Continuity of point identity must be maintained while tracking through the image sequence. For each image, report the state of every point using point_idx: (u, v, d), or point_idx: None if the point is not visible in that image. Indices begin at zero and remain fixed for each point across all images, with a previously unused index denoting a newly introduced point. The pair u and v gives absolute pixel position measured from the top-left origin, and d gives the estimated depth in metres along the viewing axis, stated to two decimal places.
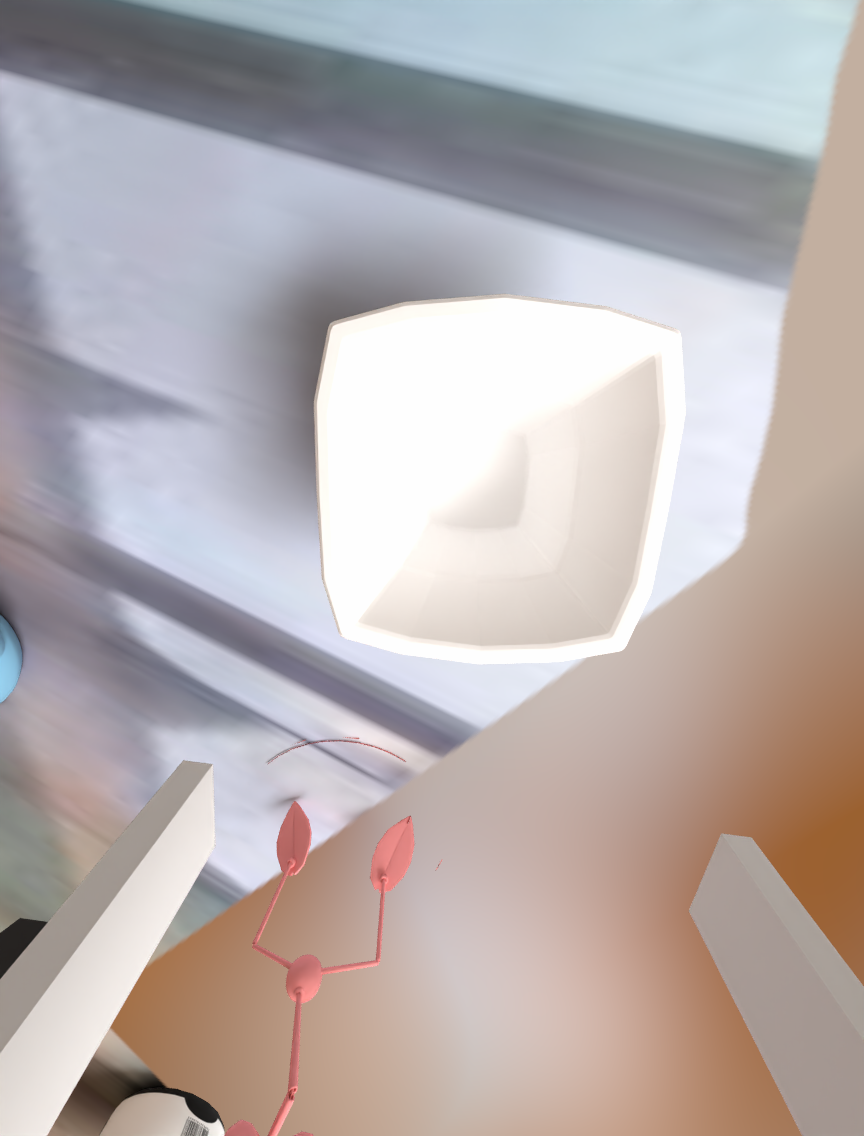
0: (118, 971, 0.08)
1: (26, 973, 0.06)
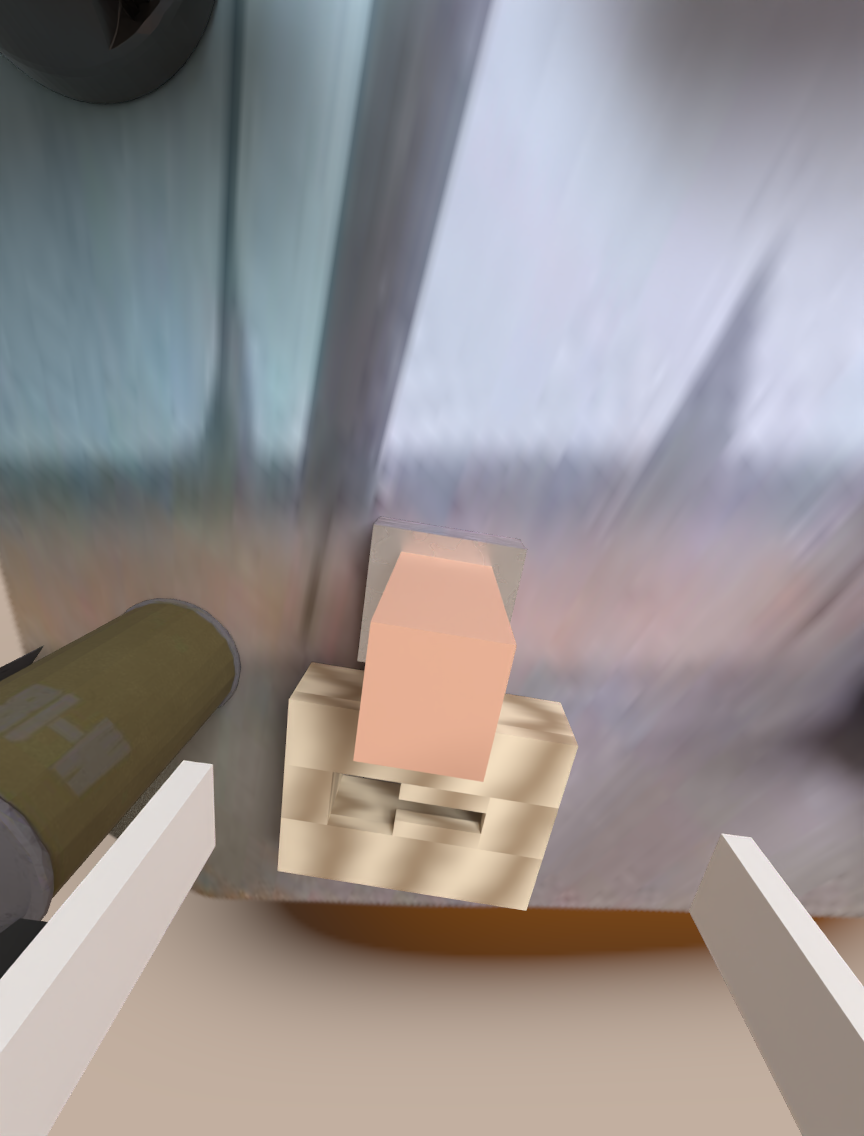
0: (118, 972, 0.08)
1: (26, 973, 0.06)
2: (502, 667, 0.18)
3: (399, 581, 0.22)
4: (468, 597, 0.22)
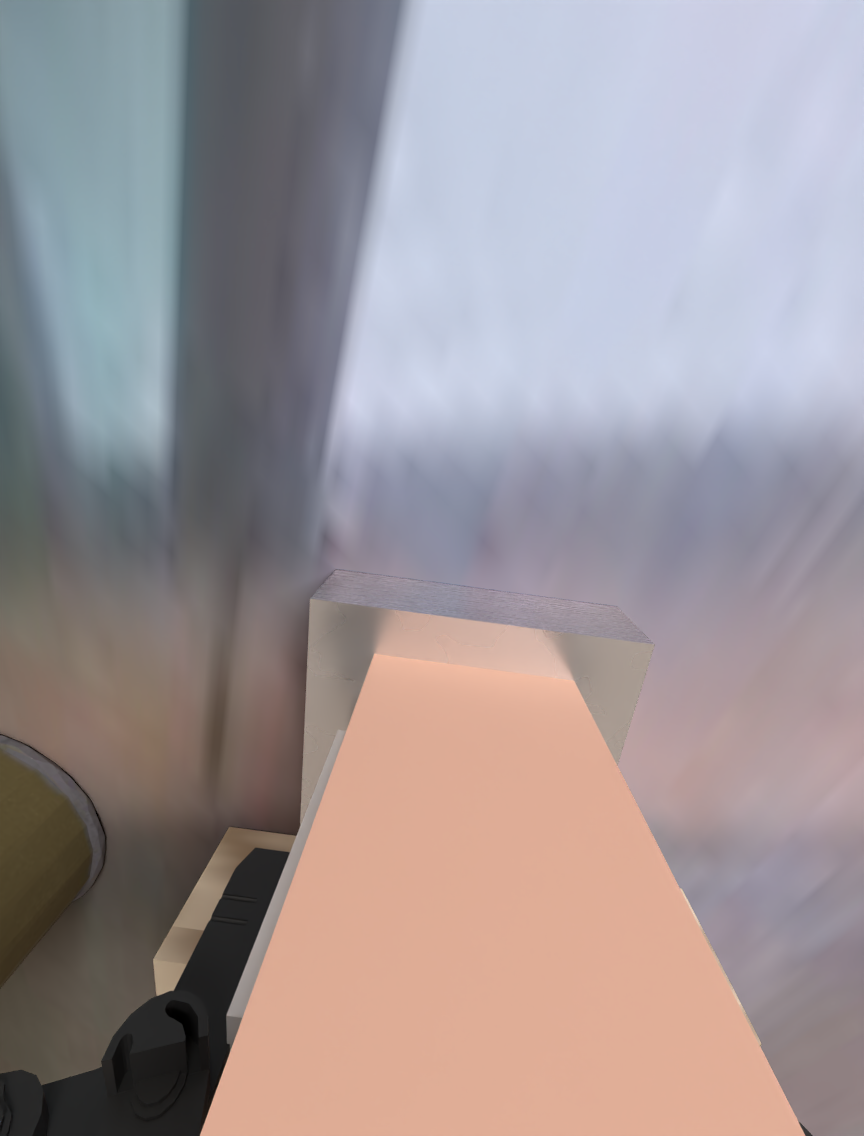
0: None
1: None
2: None
3: (348, 815, 0.07)
4: (572, 891, 0.07)
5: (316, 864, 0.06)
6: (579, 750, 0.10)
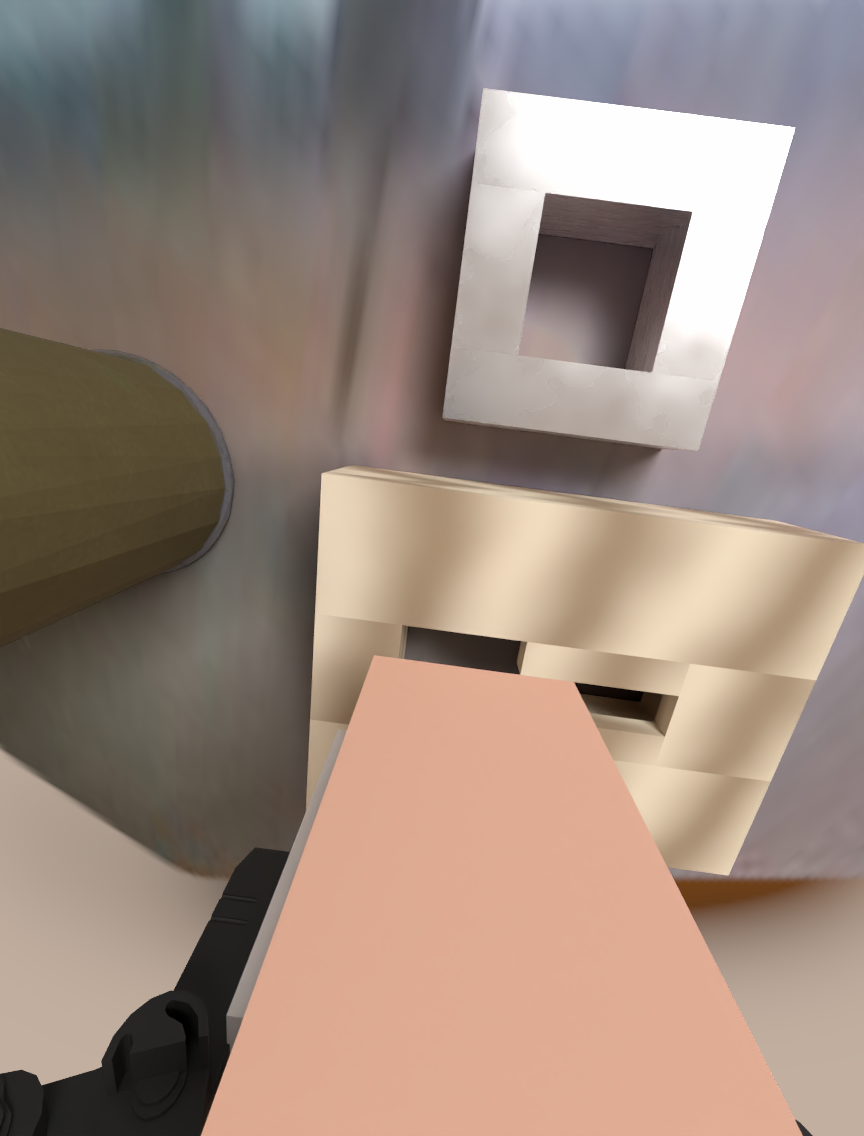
0: None
1: None
2: None
3: (347, 819, 0.07)
4: (573, 894, 0.07)
5: (316, 867, 0.06)
6: (579, 752, 0.10)
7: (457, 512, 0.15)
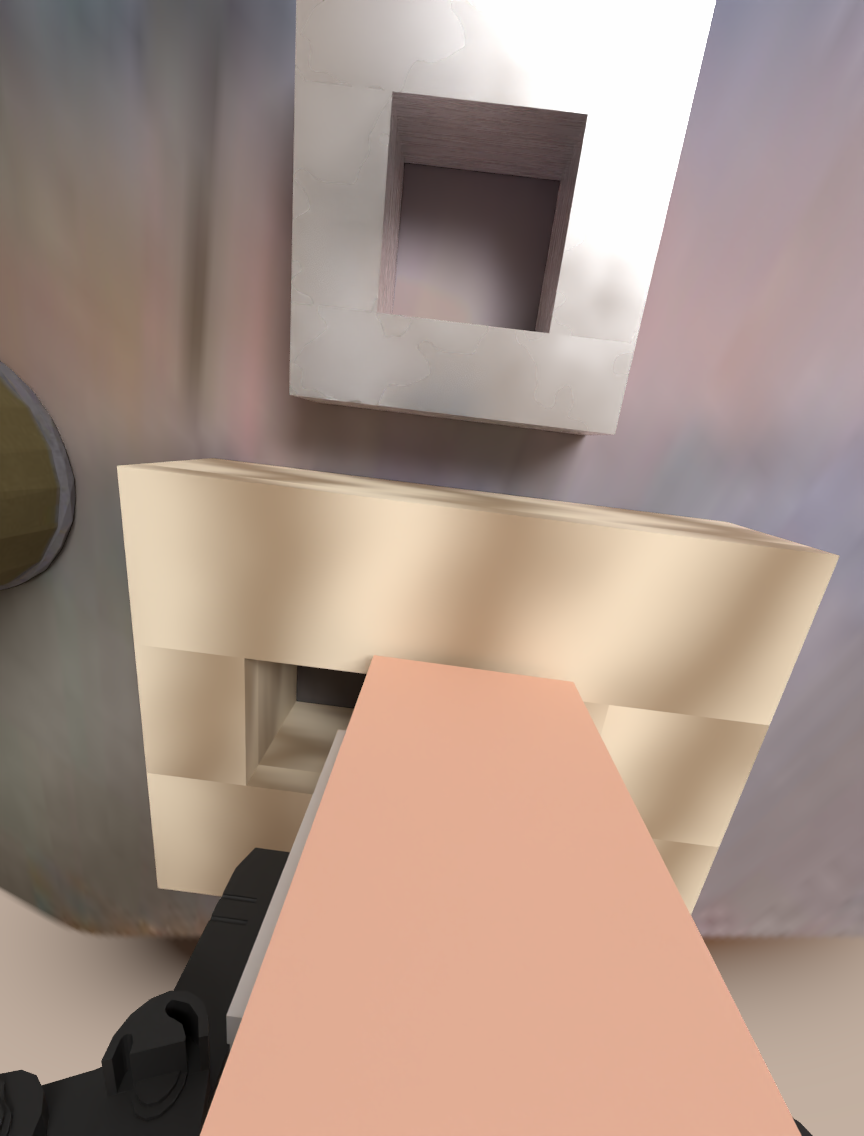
0: None
1: None
2: None
3: (347, 818, 0.07)
4: (572, 893, 0.07)
5: (315, 867, 0.06)
6: (578, 752, 0.10)
7: (296, 515, 0.12)
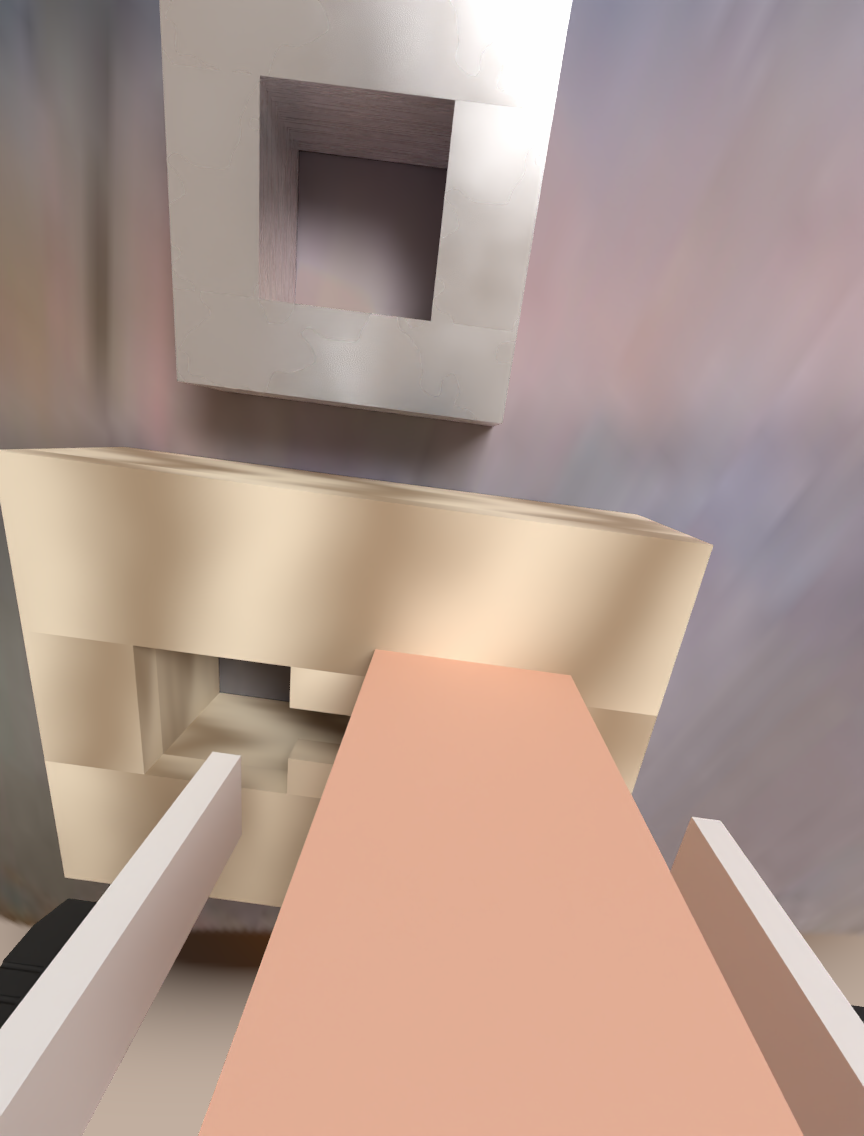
0: (160, 950, 0.08)
1: (83, 947, 0.07)
2: None
3: (351, 801, 0.08)
4: (567, 872, 0.07)
5: (321, 846, 0.07)
6: (575, 741, 0.10)
7: (173, 500, 0.12)
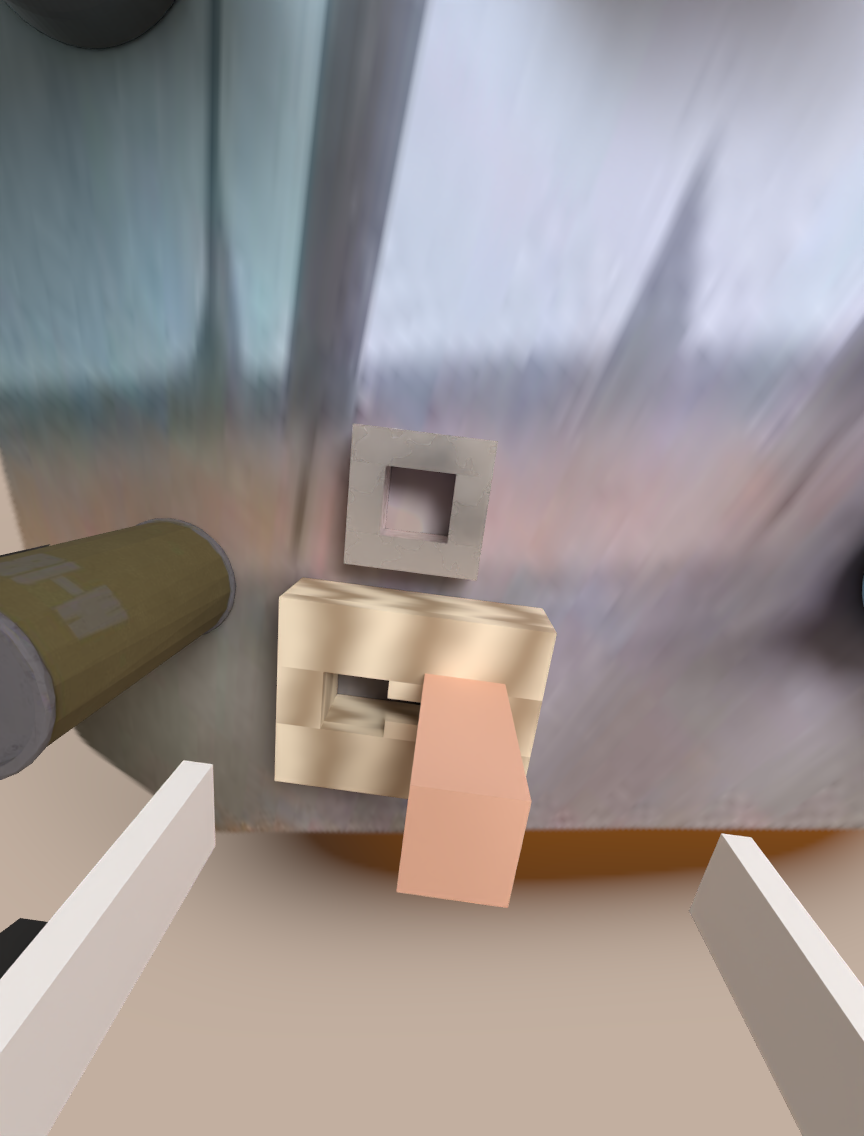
0: (118, 972, 0.08)
1: (26, 973, 0.06)
2: (520, 818, 0.21)
3: (427, 720, 0.26)
4: (487, 736, 0.25)
5: (422, 729, 0.25)
6: (499, 707, 0.28)
7: (347, 615, 0.31)
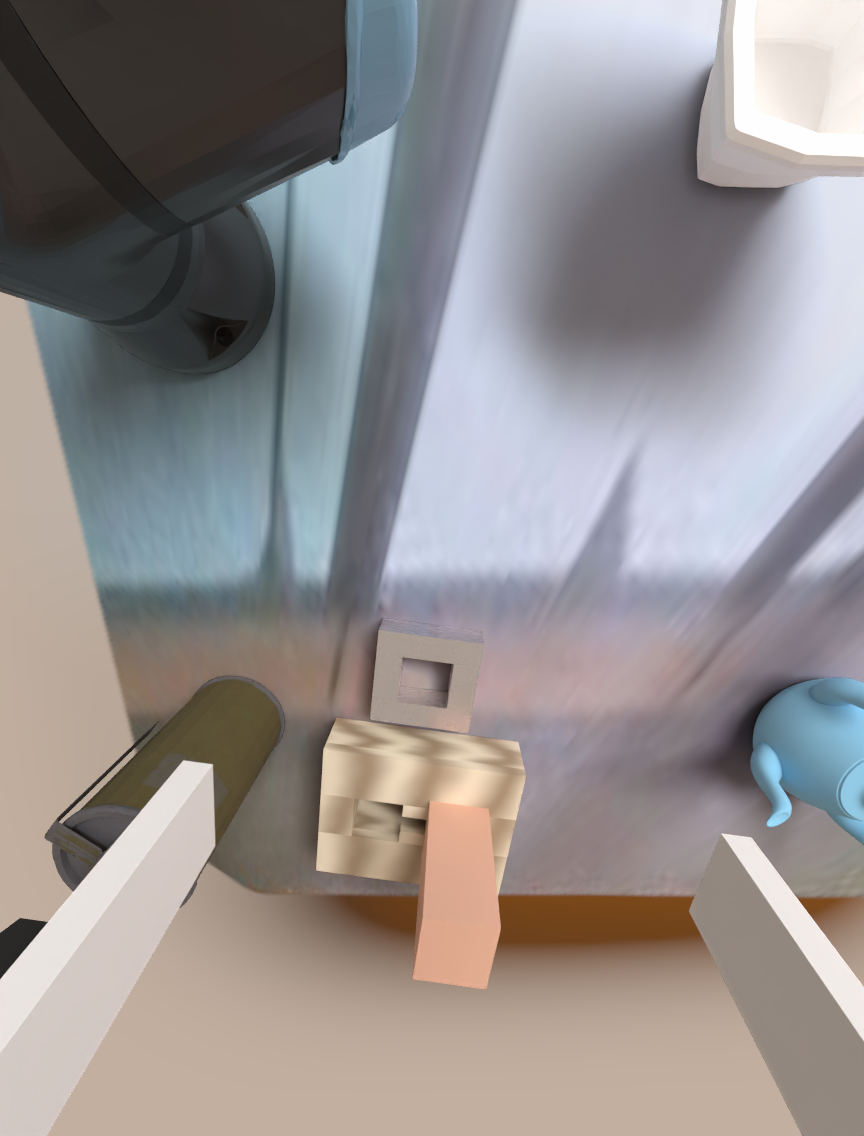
0: (118, 972, 0.08)
1: (26, 973, 0.06)
2: (493, 937, 0.33)
3: (432, 853, 0.38)
4: (474, 867, 0.37)
5: (429, 862, 0.37)
6: (483, 835, 0.40)
7: (373, 762, 0.42)
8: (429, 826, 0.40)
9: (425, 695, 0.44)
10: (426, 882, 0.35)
